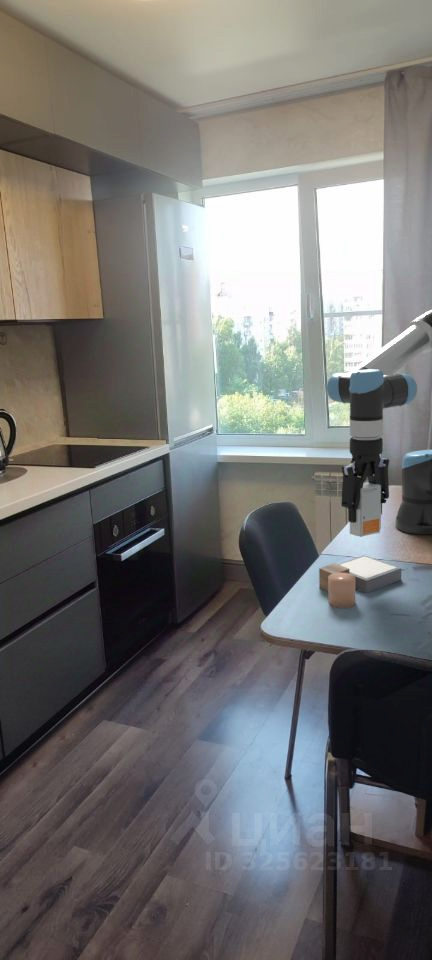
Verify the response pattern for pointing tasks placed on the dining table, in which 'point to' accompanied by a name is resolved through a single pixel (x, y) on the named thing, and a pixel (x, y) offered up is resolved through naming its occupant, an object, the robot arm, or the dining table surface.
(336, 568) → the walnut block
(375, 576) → the podium
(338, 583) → the peach rounded capsule
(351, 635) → the dining table surface
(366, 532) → the skincare box
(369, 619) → the dining table surface
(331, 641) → the dining table surface
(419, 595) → the dining table surface
